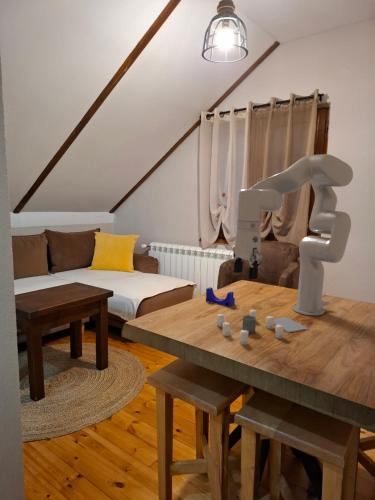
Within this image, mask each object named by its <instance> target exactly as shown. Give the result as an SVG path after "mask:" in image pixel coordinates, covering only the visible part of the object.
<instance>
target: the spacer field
mask: <svg viewBox="0 0 375 500" xmlns="http://www.w3.org/2000/svg"><path fill="white" fill-rule="evenodd" d="M257 312H258V311H257V310H255V309H250V310H249V315H250V316H254V317H256V318H257V314H258V313H257ZM274 319H275V317H274V316H271V315H268V316H266V319H265V320H266V321H265V323H266V324H265V328H266V330H267V329H268V330H273V329H274V326H275V331H274V332H275V334H274V337H275V338H276V339H278V340H282V339H283V338H284V326H283V325H274ZM216 326H217V327H218V328H219V327H220V328H222V336H224V337H230V336H231V322H228V321H225V314H223V313H218V314H217V315H216ZM239 332H240V333H239V344H240V345H241V346H247V345H248V343H249V334H248V331H247V330H242V329H241V330H240V331H239Z"/></svg>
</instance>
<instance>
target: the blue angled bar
mask: <svg viewBox="0 0 375 500" xmlns="http://www.w3.org/2000/svg"><path fill="white" fill-rule="evenodd" d="M205 291H206V292H205V302H207V301H209V302H208V303H211V302H212V303H213V304H215V303H217V304H216V305H220V304H221V305H220V306H224V305H225V307H228V306H229V308H231V307H233V306H234V305H235V304H236V303H235V301H236V298H235V297H234V294H235V292H234V291H228V292H227V294H226V296H225V298H222V299H220V298H218V297H217V296H216V294H215V293H214V289H213V287H210V286H209V287H207V288H206V289H205Z"/></svg>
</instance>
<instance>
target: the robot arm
mask: <svg viewBox="0 0 375 500" xmlns="http://www.w3.org/2000/svg"><path fill="white" fill-rule="evenodd" d="M353 178H354V172H353V168H352V166H350V165H349V164H348V163H347V162H346V161H343V160H341V159H340V158H339V157H336V156H335V155H332V154H329V153H324V154H311V155H306V156H303V157H301V158H300V159H298V160H297V161H296V162H294V163H293V164H292V165H290V166H289V167H288V168H286V169H284V170H283V171H281V172H279V173H276V174H274V175H272V176H270V177H267V178H265V179H263V180H260V181H258V182H257V183H255V184H254V185H252V186H251V187H250V188H243V189H241V190H239V192H238V202H237V203H238V204H237V217H236V218H237V221H236V222H237V223H236V233H235V235H236V236H235V243H234V246H233V247H232V252H233V254H232V256H233V262H234V264H233V273H235V274H236V273H243V266H244V261H248V264H249V267H248V277H247V278H248V280H257V279H258V278H259V277H258V276H259V275H258V273H259V272H258V271H259V267H260V265H261V264H262V263H261V261H262V259H263V255H262V253H261V252H262V239H261V238H262V237H261V232H260V224H261V212H271V213H272V212H276V211H278V210H279V209H280V208H281V207H282V206H283V204H284V199H283V197H284V196H283V195H288V194H291V193H294V192H297V191H298V190H300V189H301V188H302V187H303V186H304V185H306V184H307V183H308V182H309V183H310V184H311V187H312V189H313V191H314V202H313V207H312V211H311V213H310V214H311V215H310V219H309V222H308V228H309V231H311V232H313V233H316V234H320V235H321V234H322V235H329V236H330V237H326V236H320V235H319V236H318V235H306V236H305V237H303V238H302V239H301V240H300V242H299V244H298V245H299V246H298V251H299V264H300V265H299V276H298V277H299V278H298V287H297V289H298V290H297V301H296V304H294V305H293V306H292V310H293V311H294V312H296V313H298V314H301V315H304V316H305V315H306V316H316V317H317V316H322V315H324V314H325V311H326V310H325V309H324V307H325V306H330V304H331V303H330V300H323V299H322V298H323V289H324V277H325V268H324V264H323V263H322V262H324V263H329V264H338V263H339V262H341V261H342V259H343V257H344V255H345V253H346V248H347V244H348V241H349V236H350V233H351V228H352V221H351V220H352V219H351V216H350V214H348V213H347V212H345V211H340V210H338V211H337V210H336V209H337V203H338V196H337V195H336V192H335V190H334V187H335V188H336V187H338V188H339V187H346V186H348V185H350V183H351V182H352V180H353ZM243 260H244V261H243Z"/></svg>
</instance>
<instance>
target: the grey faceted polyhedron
mask: <svg viewBox="0 0 375 500" xmlns="http://www.w3.org/2000/svg"><path fill="white" fill-rule="evenodd" d="M241 324H242V326H241V328H242V329H241V330H247V331H248V335H252V334H256V325H257V316H256V317H254V316H250V314H249V315H248V314H247V315H243V316H242V323H241Z"/></svg>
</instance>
